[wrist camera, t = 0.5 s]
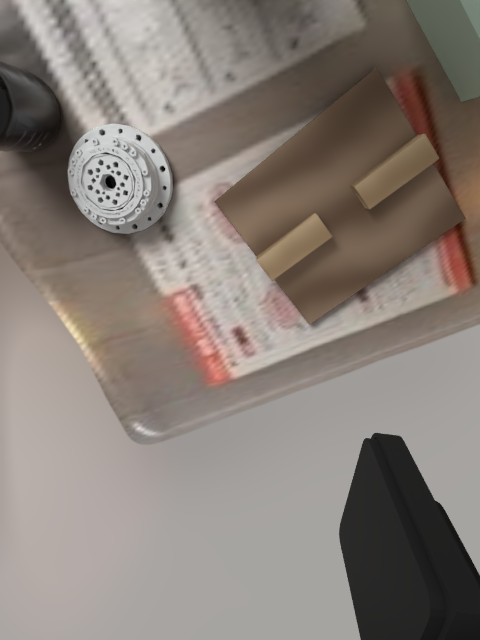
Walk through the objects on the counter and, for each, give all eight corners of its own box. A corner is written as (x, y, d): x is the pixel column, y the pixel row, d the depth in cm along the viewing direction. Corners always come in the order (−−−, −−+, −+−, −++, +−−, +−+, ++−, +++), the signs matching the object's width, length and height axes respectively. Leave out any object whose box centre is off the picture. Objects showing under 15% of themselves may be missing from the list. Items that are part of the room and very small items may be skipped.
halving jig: (215, 200, 40) (212, 203, 38) (373, 69, 36) (383, 61, 33) (308, 321, 44) (311, 331, 42) (460, 217, 40) (476, 221, 37)
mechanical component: (147, 249, 43) (191, 161, 39) (135, 258, 39) (183, 161, 35) (59, 199, 41) (97, 103, 38) (36, 203, 37) (77, 96, 34)
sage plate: (390, -27, 33) (422, -73, 27) (418, -51, 33) (457, -105, 26) (460, 102, 37) (504, 88, 30) (487, 82, 36) (537, 64, 29)
